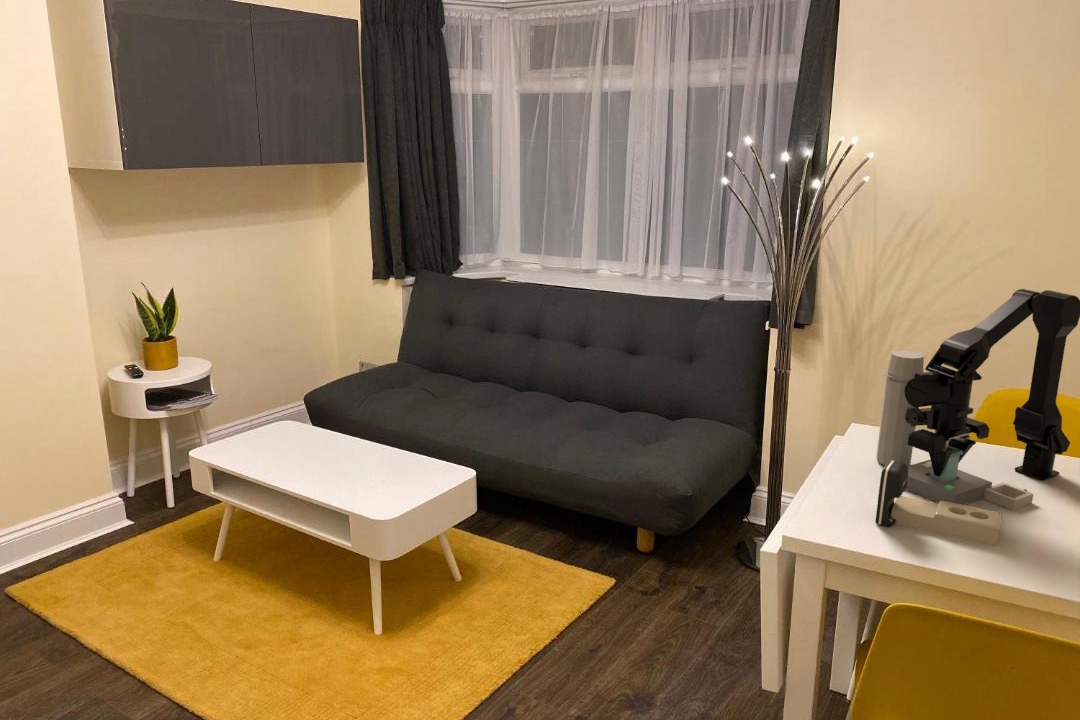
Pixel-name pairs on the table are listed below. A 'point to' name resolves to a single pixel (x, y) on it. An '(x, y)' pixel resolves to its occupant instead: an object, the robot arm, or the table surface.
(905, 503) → the electrical outlet
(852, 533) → the table surface
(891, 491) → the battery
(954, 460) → the plug
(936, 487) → the port panel
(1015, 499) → the beige frame with handle
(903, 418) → the water bottle
